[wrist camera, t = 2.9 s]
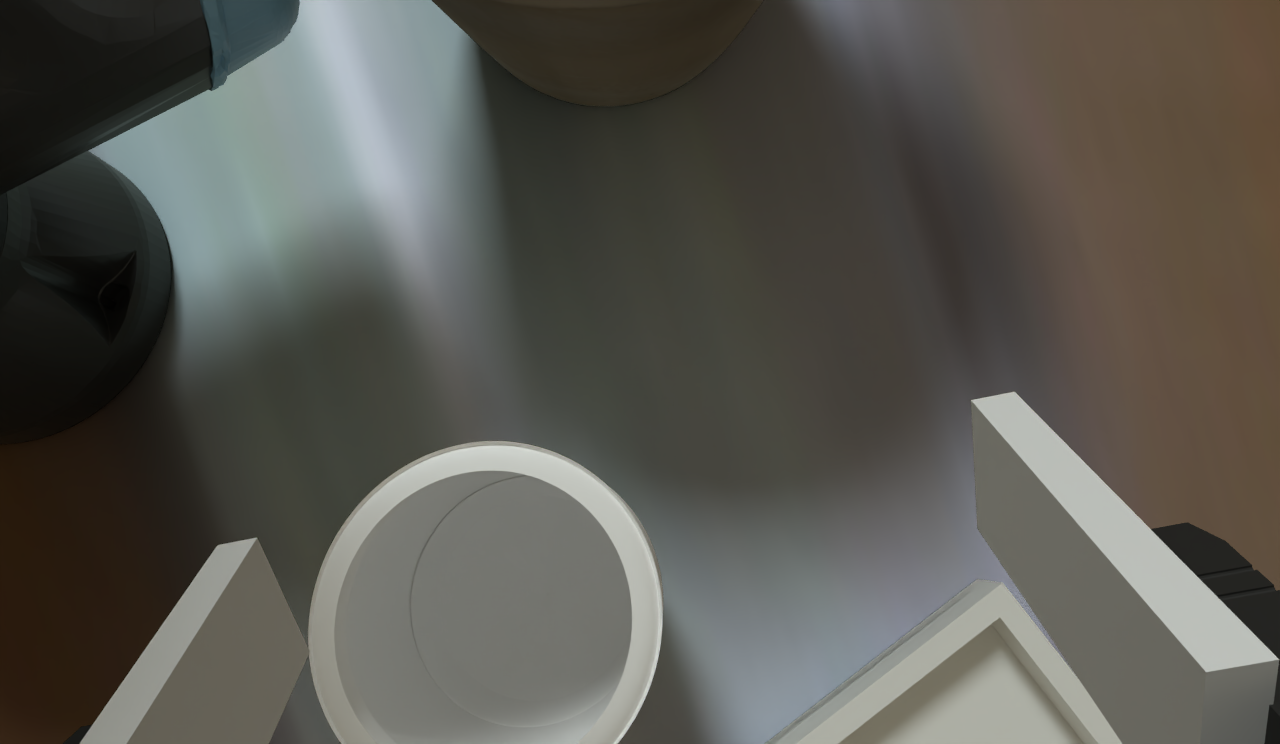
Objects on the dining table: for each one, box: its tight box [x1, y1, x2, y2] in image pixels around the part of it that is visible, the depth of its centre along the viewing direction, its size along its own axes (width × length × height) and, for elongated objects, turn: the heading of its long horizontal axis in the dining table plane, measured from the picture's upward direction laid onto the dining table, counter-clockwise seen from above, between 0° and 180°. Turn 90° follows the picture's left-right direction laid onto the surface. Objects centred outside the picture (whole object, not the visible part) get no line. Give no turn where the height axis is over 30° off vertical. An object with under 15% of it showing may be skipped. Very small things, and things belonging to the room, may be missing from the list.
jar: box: [308, 441, 663, 744], centre depth 33 cm, size 11×10×15 cm
